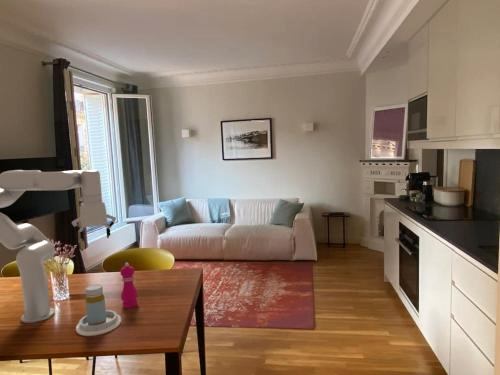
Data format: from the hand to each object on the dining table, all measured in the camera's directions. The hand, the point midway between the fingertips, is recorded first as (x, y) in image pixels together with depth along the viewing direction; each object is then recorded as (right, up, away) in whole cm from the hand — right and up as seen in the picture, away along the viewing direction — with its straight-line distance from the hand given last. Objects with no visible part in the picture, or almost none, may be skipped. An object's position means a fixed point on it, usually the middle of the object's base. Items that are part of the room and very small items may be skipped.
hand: (95, 238), depth 151 cm
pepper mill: (+11, -32, +11) cm, 36 cm away
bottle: (+4, -33, -7) cm, 34 cm away
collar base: (+5, -34, -7) cm, 35 cm away
